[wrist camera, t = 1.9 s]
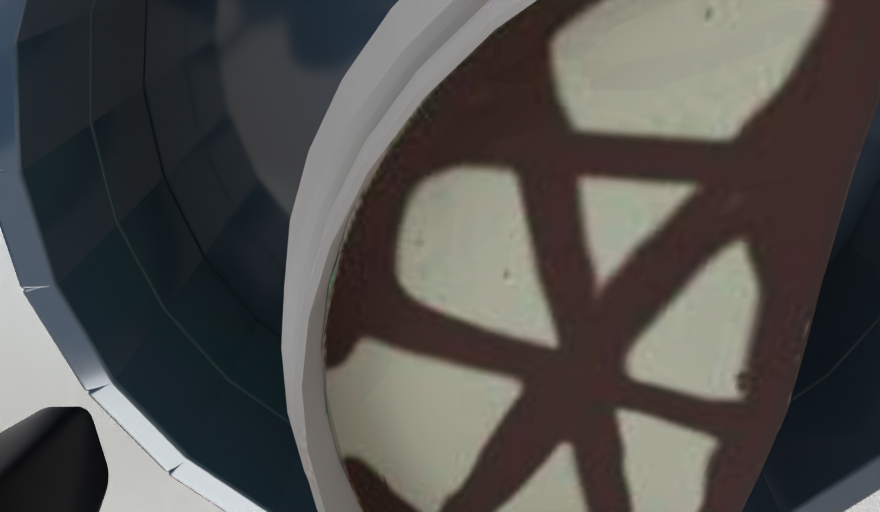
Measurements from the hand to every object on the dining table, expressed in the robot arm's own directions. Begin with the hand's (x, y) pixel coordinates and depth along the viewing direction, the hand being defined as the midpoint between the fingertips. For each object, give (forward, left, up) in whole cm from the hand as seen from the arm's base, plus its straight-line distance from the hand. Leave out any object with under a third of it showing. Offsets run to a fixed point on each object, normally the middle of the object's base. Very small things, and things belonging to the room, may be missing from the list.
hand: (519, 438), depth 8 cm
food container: (0, 0, -11) cm, 11 cm away
